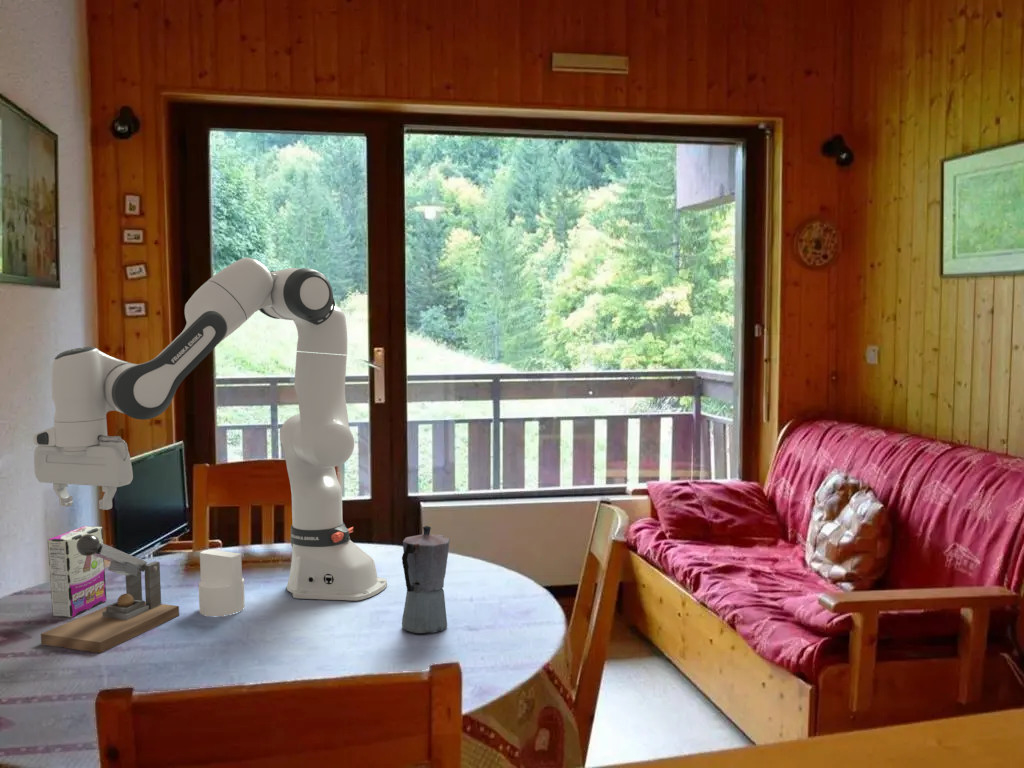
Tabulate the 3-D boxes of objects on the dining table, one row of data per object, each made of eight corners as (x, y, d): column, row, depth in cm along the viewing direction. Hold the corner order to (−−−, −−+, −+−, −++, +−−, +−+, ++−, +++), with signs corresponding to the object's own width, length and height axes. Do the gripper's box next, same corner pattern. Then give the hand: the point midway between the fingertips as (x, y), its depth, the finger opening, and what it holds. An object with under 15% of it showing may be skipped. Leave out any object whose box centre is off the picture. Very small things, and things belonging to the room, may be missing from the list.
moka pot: (462, 618, 177) (461, 520, 175) (430, 645, 162) (429, 539, 161) (419, 613, 180) (418, 517, 178) (384, 639, 165) (382, 535, 164)
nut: (137, 607, 175) (136, 592, 175) (126, 611, 173) (125, 597, 172) (125, 605, 176) (124, 590, 176) (114, 610, 174) (113, 595, 173)
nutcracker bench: (179, 615, 179) (177, 563, 178) (100, 653, 159) (97, 594, 158) (124, 608, 184) (122, 557, 183) (41, 644, 164) (38, 586, 163)
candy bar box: (86, 599, 190) (83, 525, 188) (107, 601, 189) (104, 526, 187) (49, 617, 179) (46, 538, 177) (71, 618, 178) (67, 539, 176)
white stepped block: (253, 605, 185) (252, 550, 184) (223, 619, 177) (221, 561, 176) (221, 600, 189) (219, 545, 188) (190, 613, 181) (187, 556, 180)
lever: (143, 579, 176) (150, 557, 178) (84, 556, 162) (93, 532, 164) (127, 577, 177) (134, 555, 179) (67, 554, 163) (76, 530, 165)
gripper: (138, 433, 163) (142, 506, 164) (53, 430, 169) (57, 501, 170) (113, 438, 157) (117, 514, 158) (25, 435, 163) (30, 508, 165)
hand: (85, 507), depth 164 cm, fingers open, 8 cm apart
